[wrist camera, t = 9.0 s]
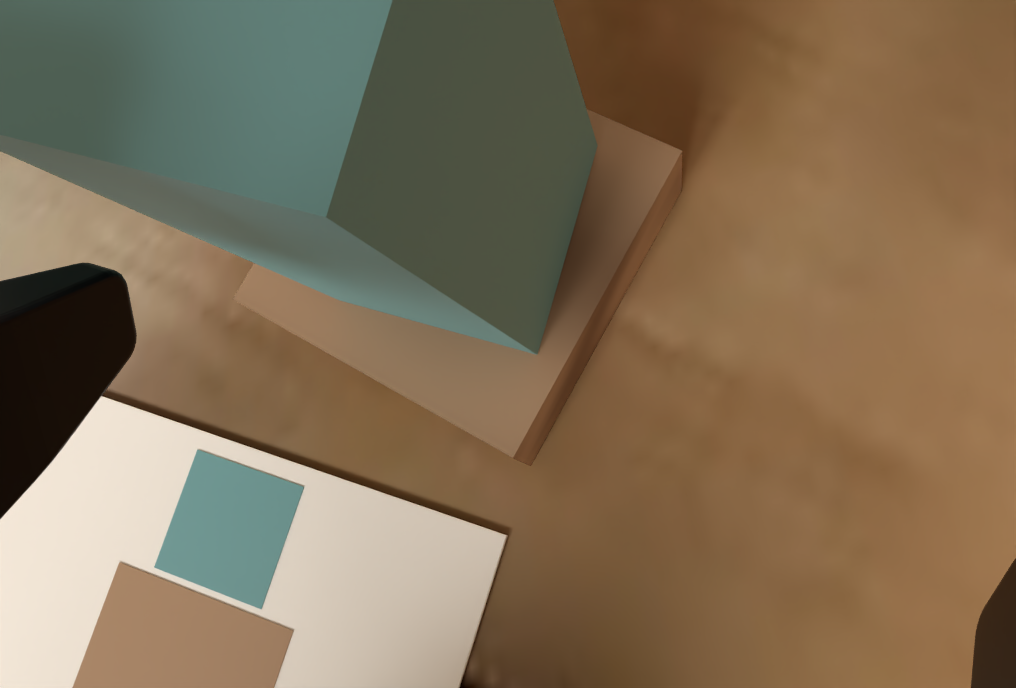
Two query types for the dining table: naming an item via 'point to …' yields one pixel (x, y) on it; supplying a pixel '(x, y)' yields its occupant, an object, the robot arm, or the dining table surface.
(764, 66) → the dining table surface
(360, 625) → the page
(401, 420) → the dining table surface
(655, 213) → the walnut base brick
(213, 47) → the teal brick
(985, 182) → the dining table surface
